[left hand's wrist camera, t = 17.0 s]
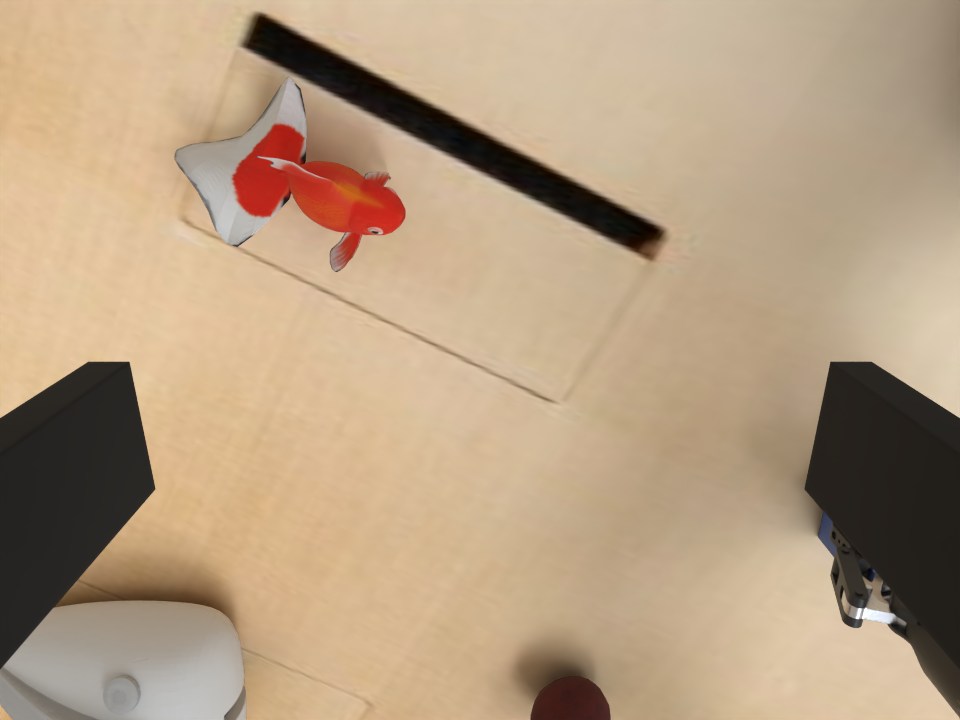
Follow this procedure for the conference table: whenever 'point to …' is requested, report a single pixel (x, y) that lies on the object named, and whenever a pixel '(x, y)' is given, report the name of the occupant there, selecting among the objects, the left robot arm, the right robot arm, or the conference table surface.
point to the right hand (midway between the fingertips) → (867, 525)
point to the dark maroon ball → (571, 701)
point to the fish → (287, 181)
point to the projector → (127, 665)
